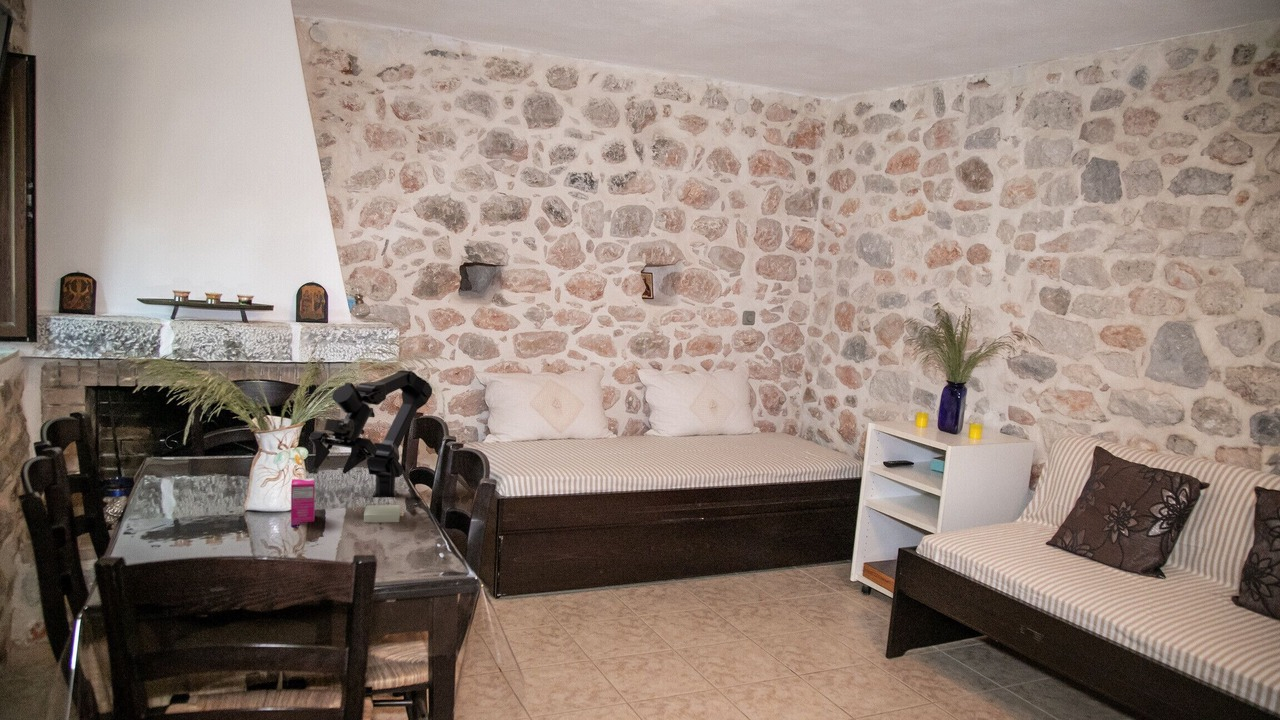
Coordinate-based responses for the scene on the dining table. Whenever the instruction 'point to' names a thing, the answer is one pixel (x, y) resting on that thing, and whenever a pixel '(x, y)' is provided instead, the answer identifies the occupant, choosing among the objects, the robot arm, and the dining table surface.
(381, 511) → the tower top block
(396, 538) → the dining table surface
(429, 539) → the dining table surface
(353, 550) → the dining table surface
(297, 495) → the supplement box
